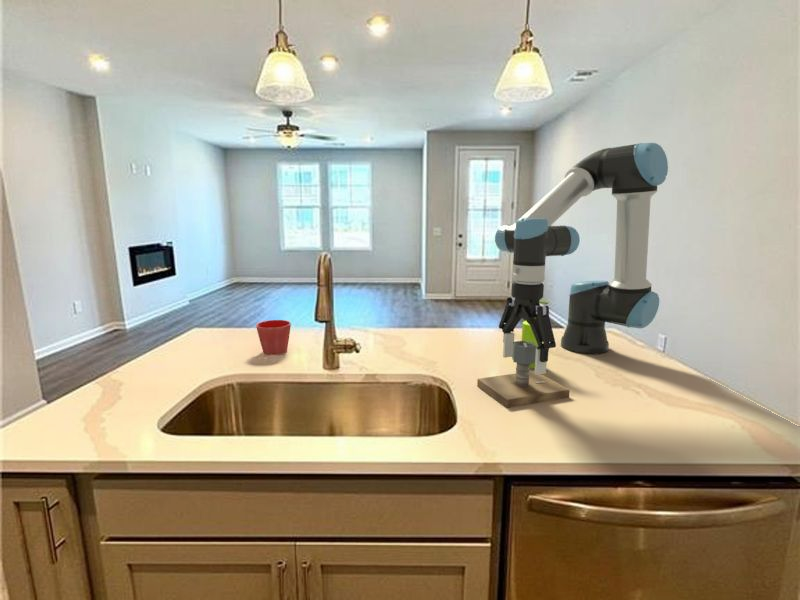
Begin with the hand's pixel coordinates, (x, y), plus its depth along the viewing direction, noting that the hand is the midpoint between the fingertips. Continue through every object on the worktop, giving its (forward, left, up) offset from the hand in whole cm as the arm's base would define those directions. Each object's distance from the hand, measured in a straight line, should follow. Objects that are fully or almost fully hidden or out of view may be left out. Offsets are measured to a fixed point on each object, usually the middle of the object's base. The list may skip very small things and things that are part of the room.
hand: (523, 364), depth 108 cm
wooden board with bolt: (0, 0, -7) cm, 7 cm away
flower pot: (+58, -56, -7) cm, 81 cm away
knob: (0, 0, +1) cm, 1 cm away
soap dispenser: (-15, -16, -7) cm, 23 cm away
